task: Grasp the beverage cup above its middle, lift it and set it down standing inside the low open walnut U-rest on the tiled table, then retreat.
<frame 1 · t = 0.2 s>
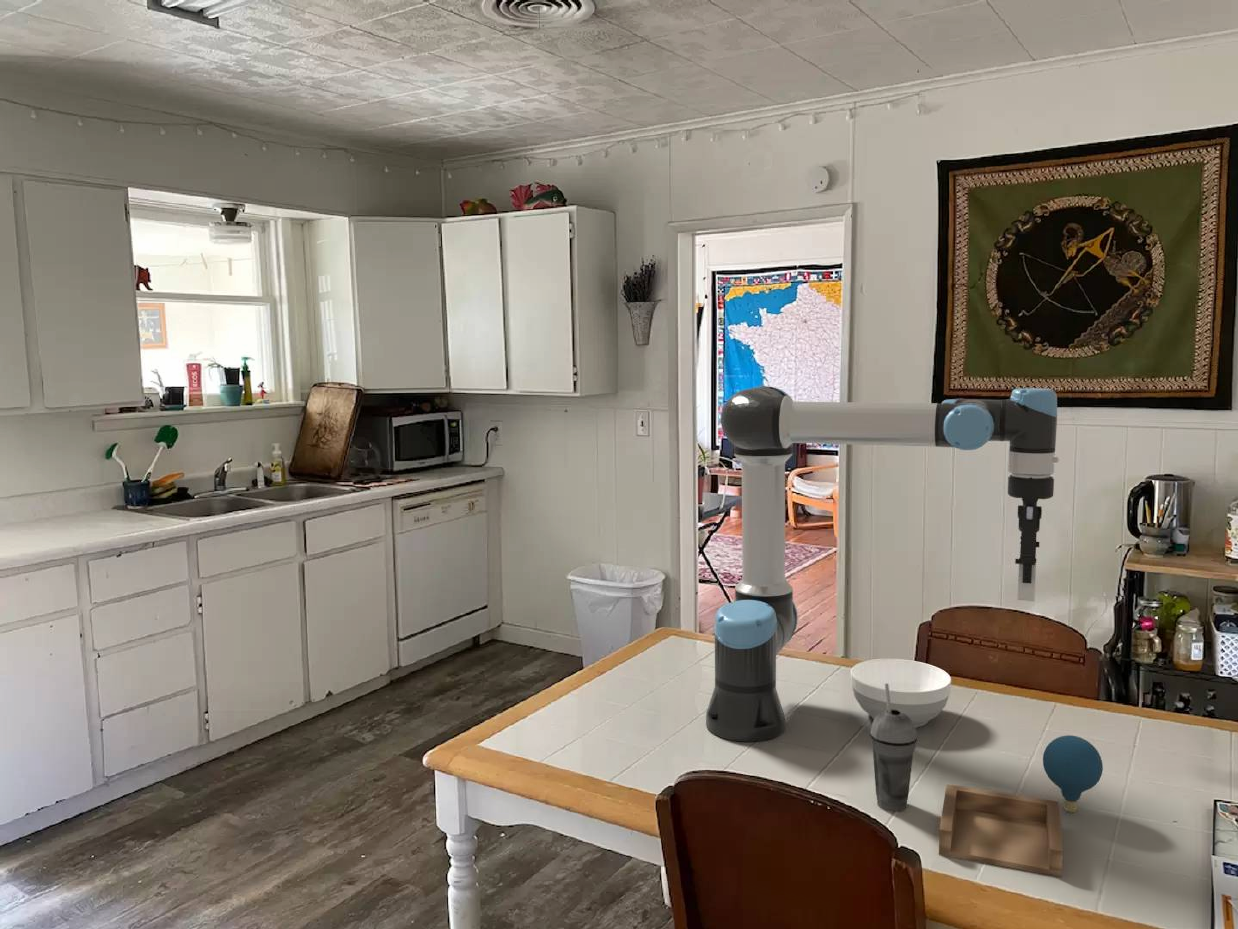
hand: (1026, 591, 170), 28 cm above the table, fingers open, 13 cm apart
light bulb: (1070, 812, 146), on the table
beverage cup: (891, 806, 149), on the table
bowl: (899, 718, 184), on the table
u rest: (999, 839, 138), on the table
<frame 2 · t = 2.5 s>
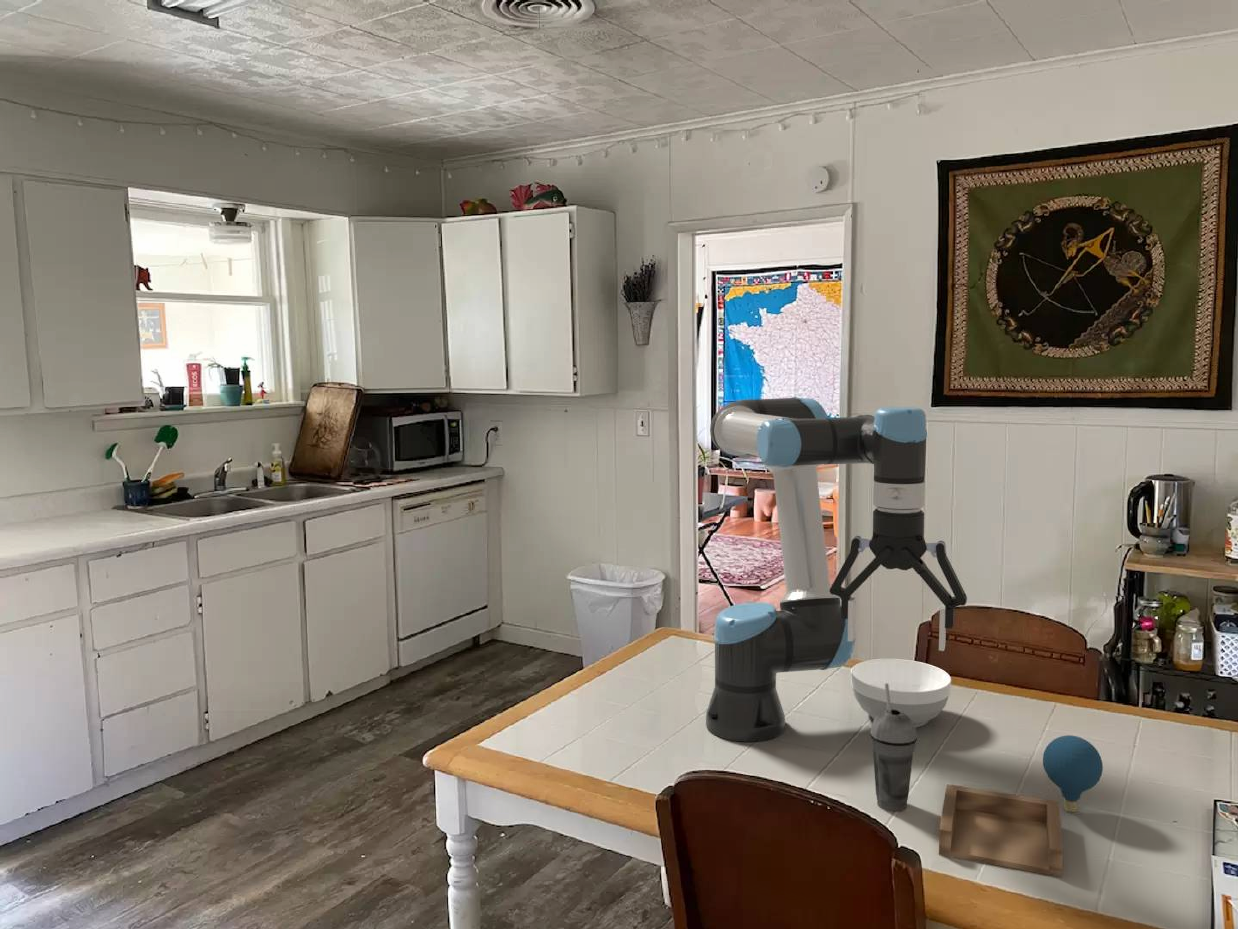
hand: (895, 643, 145), 27 cm above the table, fingers open, 13 cm apart
nothing on the table moved.
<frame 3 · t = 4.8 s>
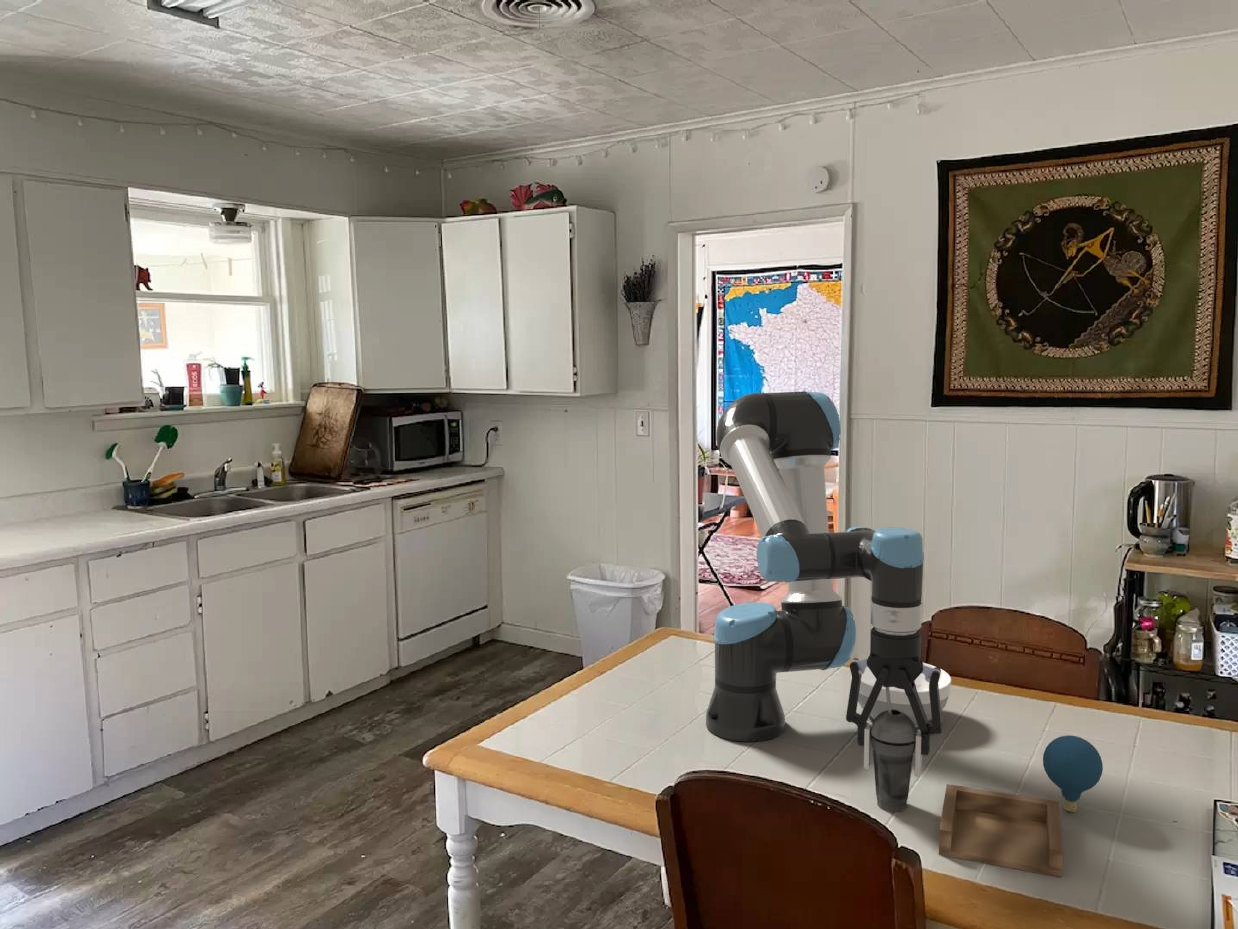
hand: (892, 768, 148), 6 cm above the table, fingers closed on beverage cup, 7 cm apart
beverage cup: (891, 806, 149), on the table, touching gripper
everything else where it was.
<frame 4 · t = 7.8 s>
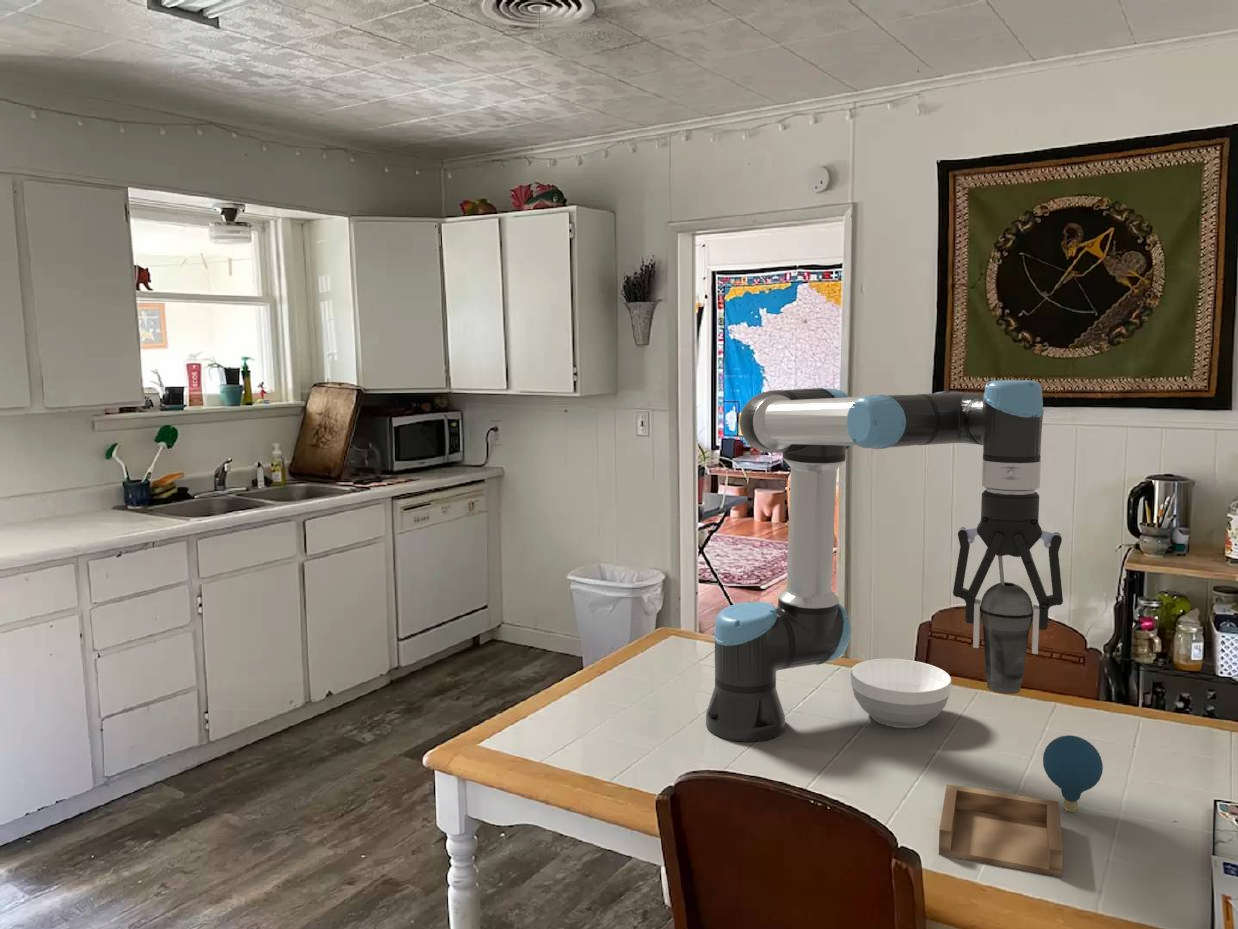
hand: (1005, 647, 135), 29 cm above the table, fingers closed on beverage cup, 7 cm apart
beverage cup: (1003, 689, 135), point 23 cm above the table, touching gripper
everything else where it was.
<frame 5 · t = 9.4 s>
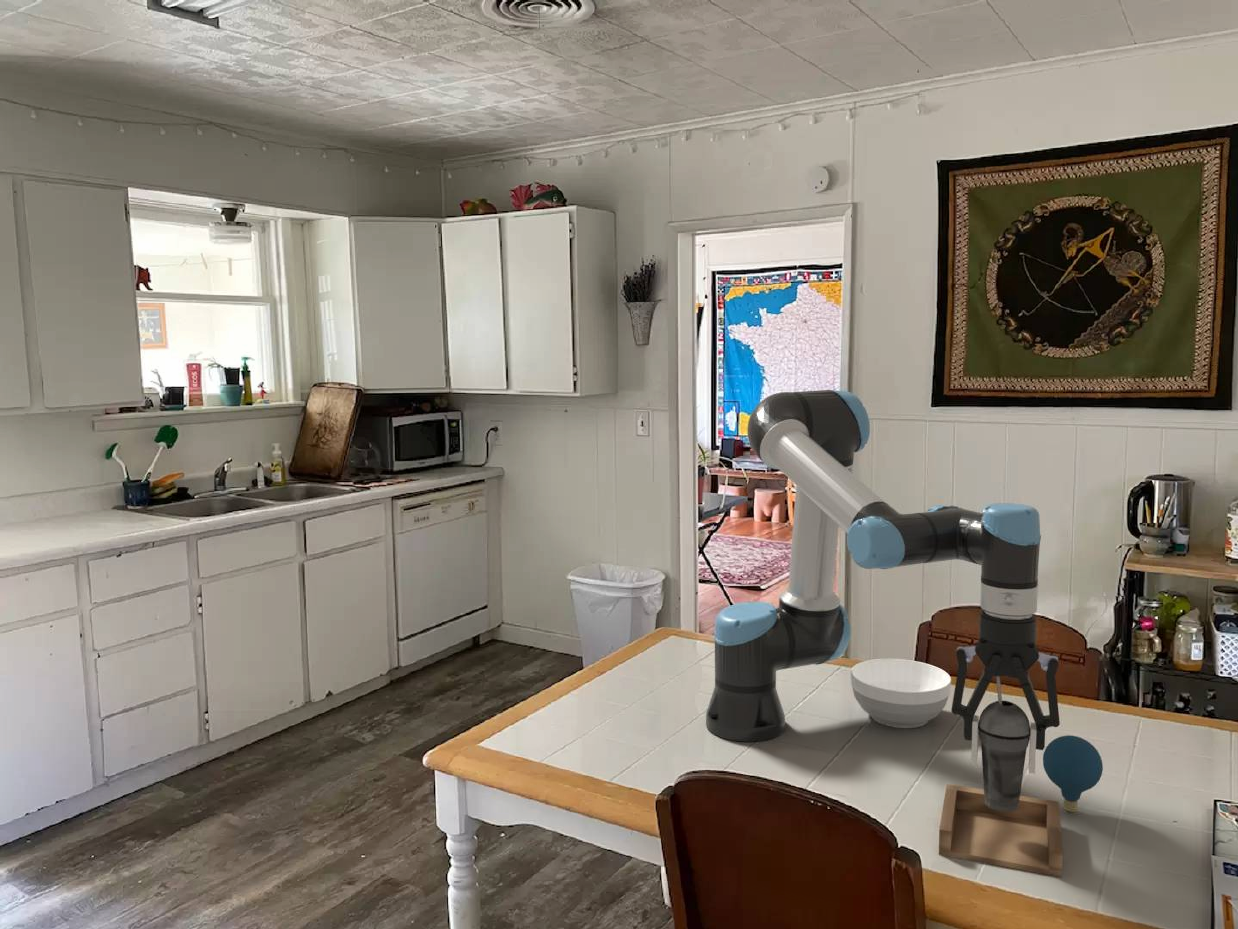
hand: (1002, 765, 137), 12 cm above the table, fingers closed on beverage cup, 7 cm apart
beverage cup: (1001, 805, 137), point 5 cm above the table, touching gripper
everything else where it was.
when the fingers open (7 cm above the table, at t = 10.7 s): beverage cup stays where it is, resting on u rest.
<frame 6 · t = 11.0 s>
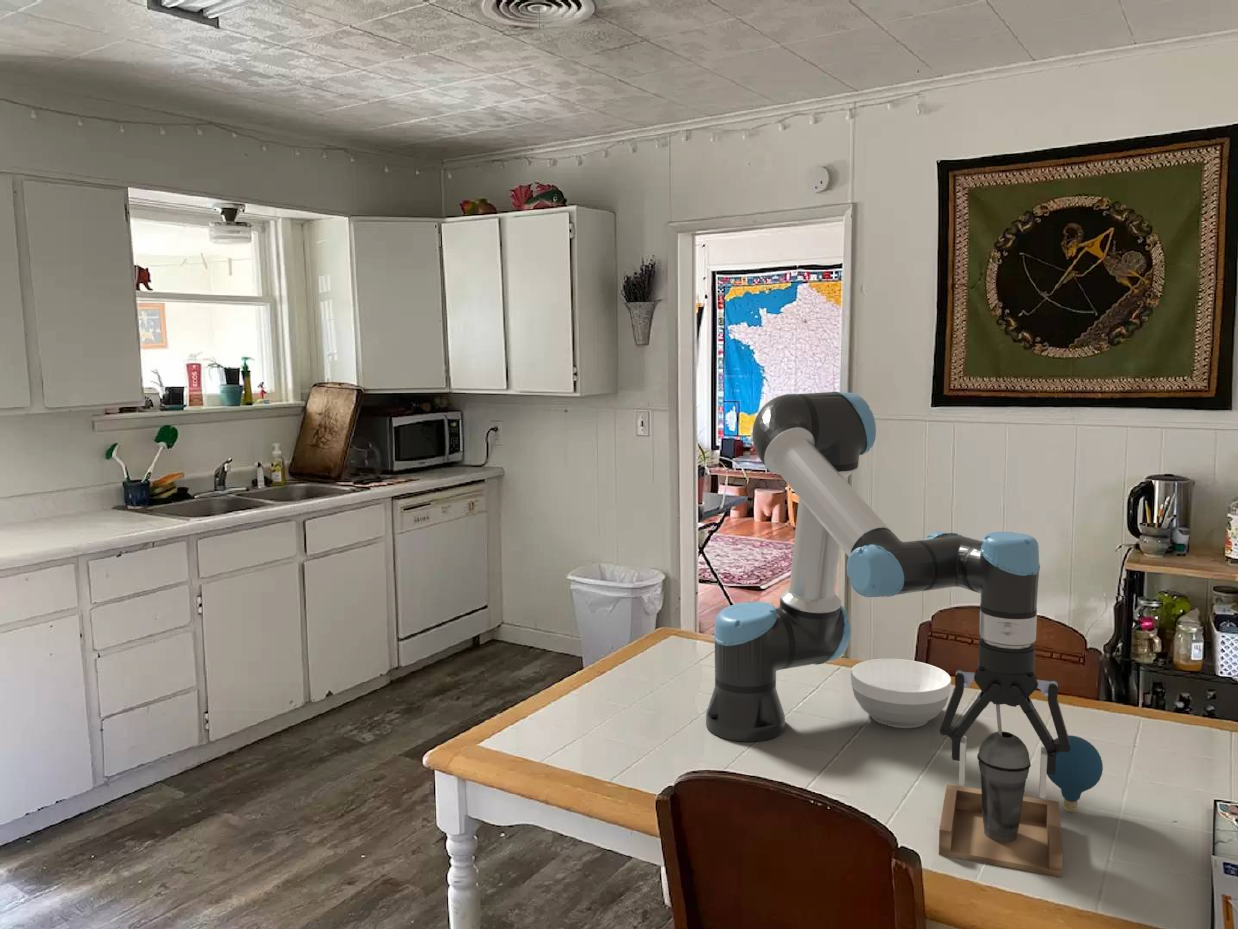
hand: (1001, 787, 137), 8 cm above the table, fingers open, 10 cm apart
beverage cup: (1000, 835, 138), point 1 cm above the table, touching u rest
everything else where it was.
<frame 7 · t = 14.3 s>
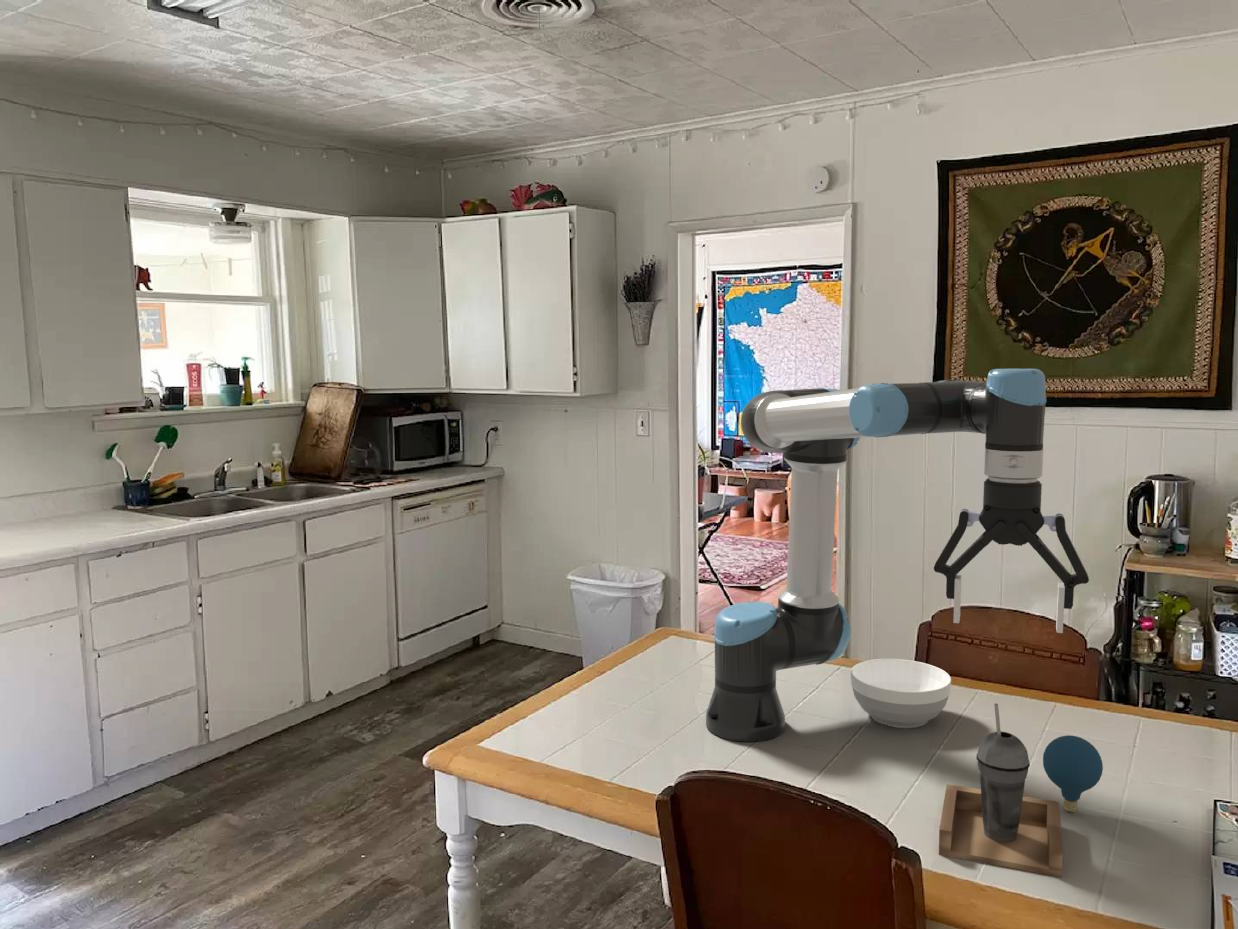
hand: (1007, 625, 134), 33 cm above the table, fingers open, 13 cm apart
nothing on the table moved.
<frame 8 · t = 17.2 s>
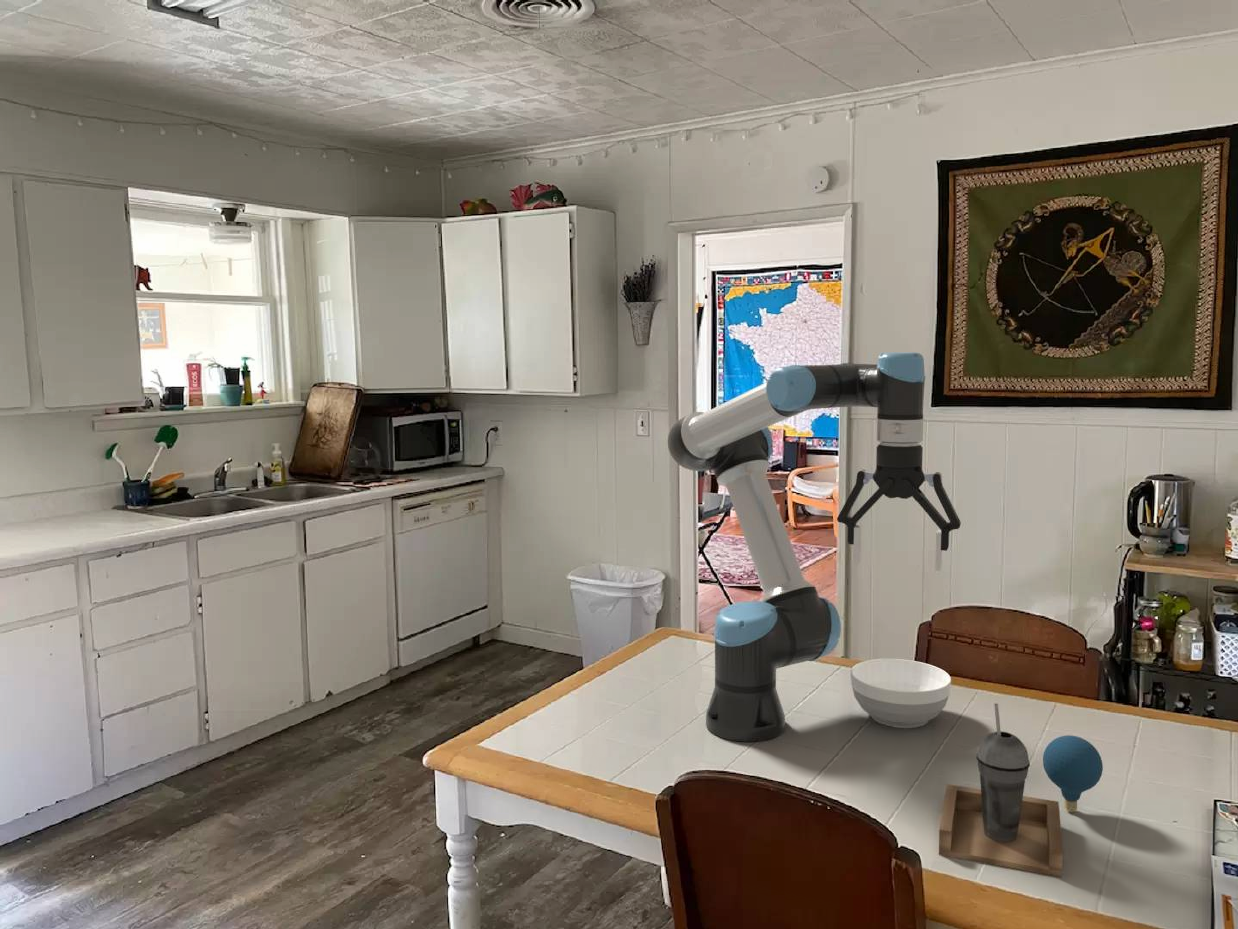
hand: (896, 566, 162), 35 cm above the table, fingers open, 13 cm apart
nothing on the table moved.
at the end: beverage cup inside the target area on the u rest (0.4 cm from its centre), point 0.6 cm above the u rest's base; beverage cup tilted 0°; the gripper is holding nothing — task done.
